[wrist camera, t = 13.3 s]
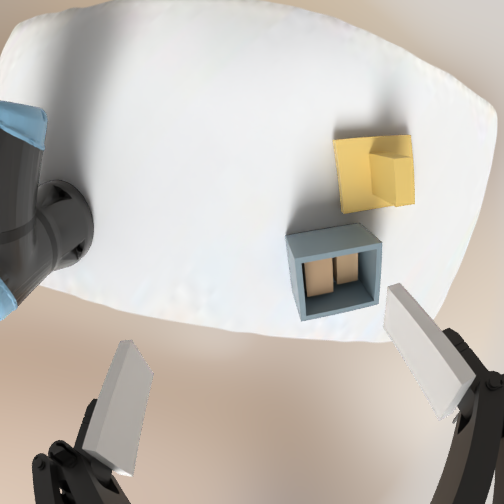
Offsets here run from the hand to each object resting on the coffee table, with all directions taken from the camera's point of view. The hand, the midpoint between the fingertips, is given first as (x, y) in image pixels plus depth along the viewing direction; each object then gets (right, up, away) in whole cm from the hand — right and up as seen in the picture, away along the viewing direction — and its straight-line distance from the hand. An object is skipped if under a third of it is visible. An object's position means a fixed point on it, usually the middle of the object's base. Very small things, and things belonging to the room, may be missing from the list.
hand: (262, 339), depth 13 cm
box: (+11, +3, +30) cm, 32 cm away
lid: (+18, +16, +23) cm, 33 cm away
